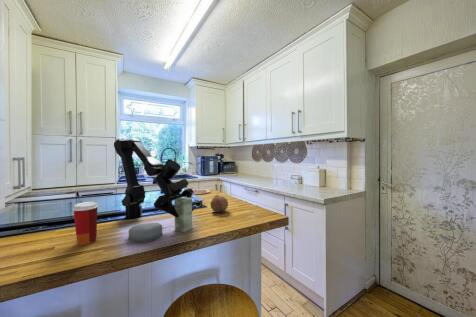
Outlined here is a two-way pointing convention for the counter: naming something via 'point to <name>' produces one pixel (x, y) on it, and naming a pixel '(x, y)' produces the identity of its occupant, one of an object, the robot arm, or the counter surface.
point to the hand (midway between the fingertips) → (185, 213)
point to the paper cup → (85, 222)
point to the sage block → (183, 214)
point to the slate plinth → (145, 232)
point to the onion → (219, 204)
